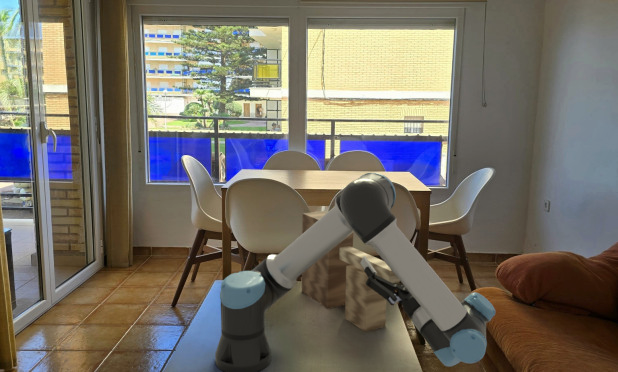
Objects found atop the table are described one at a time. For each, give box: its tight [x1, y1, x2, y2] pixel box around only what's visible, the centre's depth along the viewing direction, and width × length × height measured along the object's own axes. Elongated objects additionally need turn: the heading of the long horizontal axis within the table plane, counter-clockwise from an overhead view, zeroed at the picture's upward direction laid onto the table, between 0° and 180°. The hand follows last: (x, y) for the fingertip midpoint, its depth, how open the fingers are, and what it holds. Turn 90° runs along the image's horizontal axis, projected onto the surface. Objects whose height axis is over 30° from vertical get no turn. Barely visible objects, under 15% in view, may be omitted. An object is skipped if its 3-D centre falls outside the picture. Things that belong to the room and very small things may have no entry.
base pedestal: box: [344, 265, 388, 333], centre depth 152 cm, size 11×8×18 cm
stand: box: [301, 210, 354, 310], centre depth 171 cm, size 18×10×30 cm, turn 31°
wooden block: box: [339, 246, 401, 284], centre depth 150 cm, size 26×4×4 cm, turn 31°
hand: (380, 256), depth 144 cm, fingers open, 13 cm apart
